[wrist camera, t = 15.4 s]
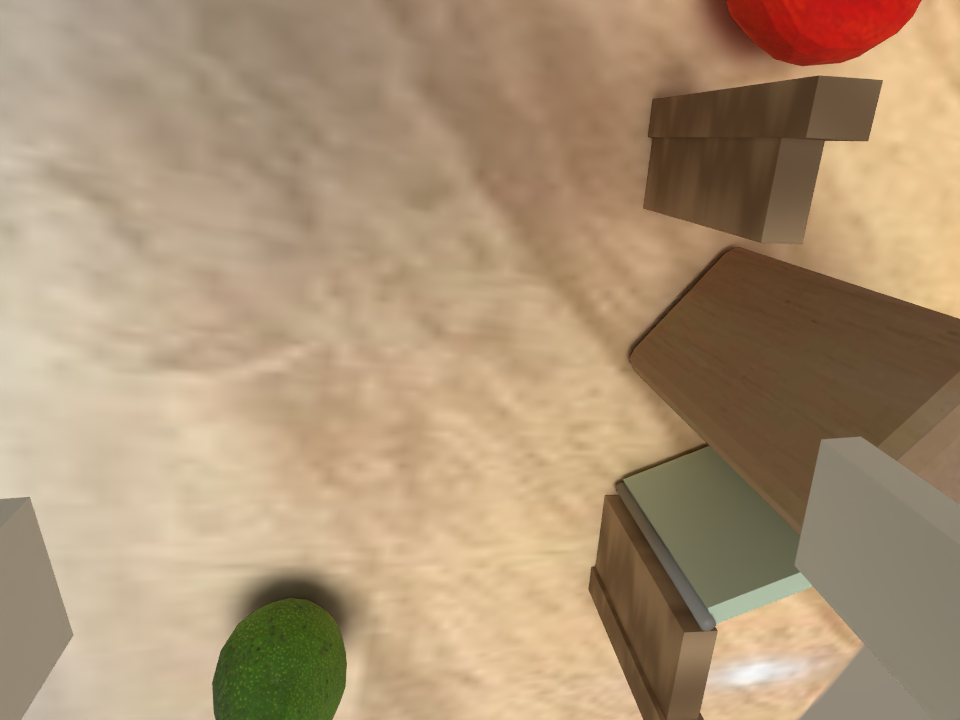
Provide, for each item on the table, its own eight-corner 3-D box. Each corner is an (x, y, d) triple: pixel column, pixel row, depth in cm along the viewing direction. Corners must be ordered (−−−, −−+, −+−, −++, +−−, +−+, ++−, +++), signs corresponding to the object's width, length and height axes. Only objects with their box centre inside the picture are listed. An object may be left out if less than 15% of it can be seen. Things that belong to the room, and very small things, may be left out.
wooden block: (823, 335, 42) (1166, 495, 23) (715, 441, 44) (953, 670, 25) (730, 237, 39) (1040, 331, 20) (618, 356, 41) (806, 544, 22)
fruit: (217, 642, 44) (155, 814, 33) (260, 554, 42) (210, 706, 31) (324, 673, 46) (301, 845, 35) (370, 591, 44) (360, 746, 33)
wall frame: (652, 99, 36) (819, 75, 21) (692, 102, 36) (882, 80, 22) (588, 589, 47) (670, 784, 33) (619, 588, 47) (714, 780, 33)
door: (866, 384, 43) (1051, 482, 31) (869, 399, 43) (1052, 501, 31) (613, 482, 43) (698, 618, 31) (618, 496, 44) (703, 636, 31)
